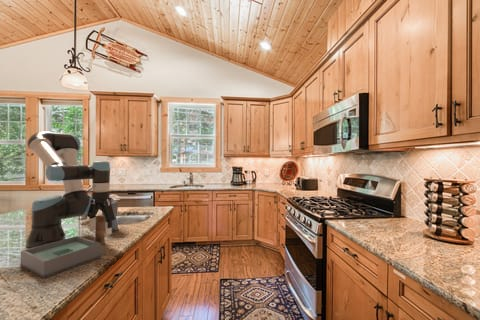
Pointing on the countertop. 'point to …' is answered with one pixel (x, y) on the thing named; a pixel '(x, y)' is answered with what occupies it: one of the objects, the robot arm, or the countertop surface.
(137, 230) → the countertop surface
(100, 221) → the walnut peg
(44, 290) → the countertop surface
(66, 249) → the bore box
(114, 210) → the moka pot
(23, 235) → the countertop surface
